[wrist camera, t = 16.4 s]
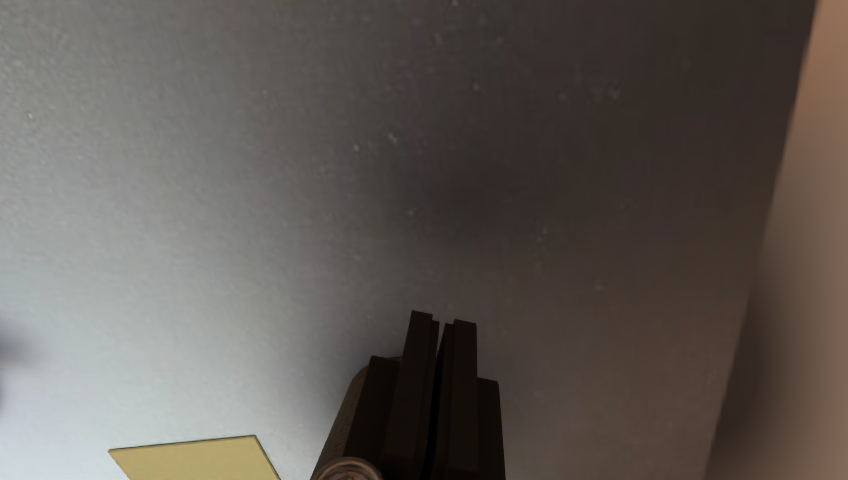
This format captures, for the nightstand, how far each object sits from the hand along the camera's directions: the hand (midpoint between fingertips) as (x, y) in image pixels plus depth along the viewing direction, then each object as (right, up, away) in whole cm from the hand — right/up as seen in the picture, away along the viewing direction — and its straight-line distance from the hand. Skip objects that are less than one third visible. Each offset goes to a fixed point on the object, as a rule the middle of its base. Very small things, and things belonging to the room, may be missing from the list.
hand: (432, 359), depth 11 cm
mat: (-14, -14, +17) cm, 26 cm away
